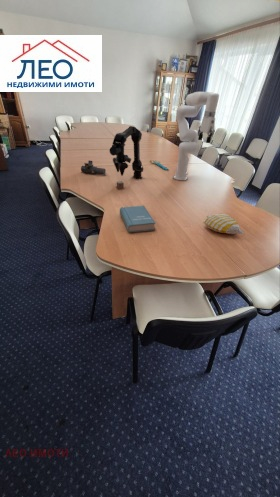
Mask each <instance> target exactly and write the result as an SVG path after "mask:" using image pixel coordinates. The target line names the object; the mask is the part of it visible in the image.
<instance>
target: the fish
mask: <svg viewBox="0 0 280 497" xmlns="http://www.w3.org/2000/svg"><path fill="white" fill-rule="evenodd" d="M203 223H204V225H205V226H206V227H207V228H208V229H210V230H212V231H214V232H217V233H222V234H227V235H237V234H239V235H244V234H245V233H244V232H243V231H242V229H241V227H240V225H239V224H238V222H237V219H236V218H235V217H232V216H230V215H229V214H228V213H216V214H210V215H207V216H206V218H205V219H204V220H203Z"/></svg>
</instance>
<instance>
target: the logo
mask: <svg viewBox="0 0 280 497" xmlns="http://www.w3.org/2000/svg"><path fill="white" fill-rule="evenodd" d="M150 163H151V164H154V165H157V166H158V167H159V168H161V169H163V170H164V171H169V168H167V167H166V166H164V165H162V164H161V163H160V161H159V160H150Z"/></svg>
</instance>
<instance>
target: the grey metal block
mask: <svg viewBox="0 0 280 497" xmlns="http://www.w3.org/2000/svg"><path fill="white" fill-rule="evenodd" d="M124 185H125V183H124V181H122V180H119V181H116V189H117V190H124V189H125V188H124V187H125V186H124Z"/></svg>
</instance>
